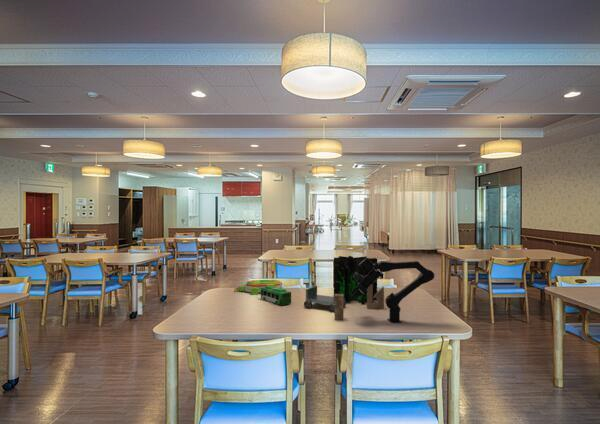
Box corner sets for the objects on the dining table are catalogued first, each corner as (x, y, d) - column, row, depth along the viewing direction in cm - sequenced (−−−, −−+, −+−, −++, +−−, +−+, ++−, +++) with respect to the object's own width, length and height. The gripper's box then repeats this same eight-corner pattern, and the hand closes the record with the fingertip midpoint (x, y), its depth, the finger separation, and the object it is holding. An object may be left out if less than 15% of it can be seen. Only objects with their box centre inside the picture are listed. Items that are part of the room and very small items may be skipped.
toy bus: (273, 297, 266) (273, 283, 266) (291, 305, 243) (291, 290, 243) (259, 299, 260) (260, 285, 260) (277, 307, 237) (277, 292, 237)
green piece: (235, 288, 300) (235, 279, 300) (281, 287, 303) (281, 278, 303) (232, 296, 271) (232, 286, 271) (282, 295, 274) (282, 285, 274)
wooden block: (383, 309, 232) (383, 281, 232) (367, 308, 233) (367, 281, 233) (383, 307, 236) (383, 280, 236) (366, 307, 237) (366, 280, 237)
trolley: (346, 306, 238) (346, 288, 238) (336, 312, 223) (336, 293, 223) (315, 302, 249) (315, 285, 249) (303, 308, 234) (303, 289, 235)
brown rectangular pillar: (343, 317, 213) (343, 294, 213) (343, 320, 208) (343, 296, 208) (334, 317, 213) (334, 293, 213) (334, 319, 208) (334, 295, 208)
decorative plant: (352, 306, 239) (352, 261, 239) (326, 297, 265) (326, 256, 265) (384, 301, 254) (384, 258, 254) (357, 293, 279) (357, 254, 280)
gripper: (360, 265, 218) (342, 283, 220) (361, 270, 200) (341, 289, 201) (373, 279, 217) (355, 296, 218) (375, 284, 198) (355, 304, 200)
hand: (351, 296), depth 210 cm, fingers open, 9 cm apart
